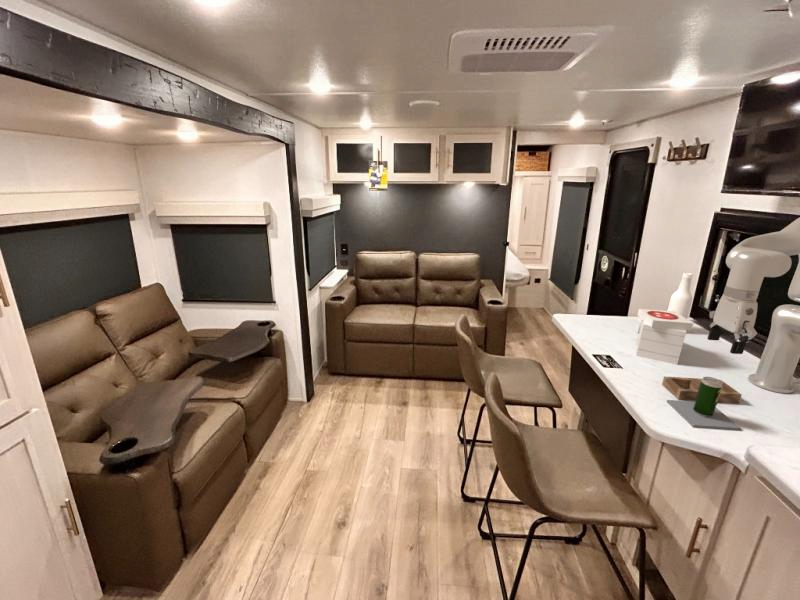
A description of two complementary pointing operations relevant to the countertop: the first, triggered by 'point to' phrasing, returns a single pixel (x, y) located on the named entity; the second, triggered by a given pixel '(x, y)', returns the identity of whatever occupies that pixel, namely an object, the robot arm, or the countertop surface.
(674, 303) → the alcohol
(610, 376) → the countertop surface
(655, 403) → the countertop surface
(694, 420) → the rubber mat
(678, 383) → the can holder
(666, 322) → the pizza boxes
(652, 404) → the countertop surface
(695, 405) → the beer can
